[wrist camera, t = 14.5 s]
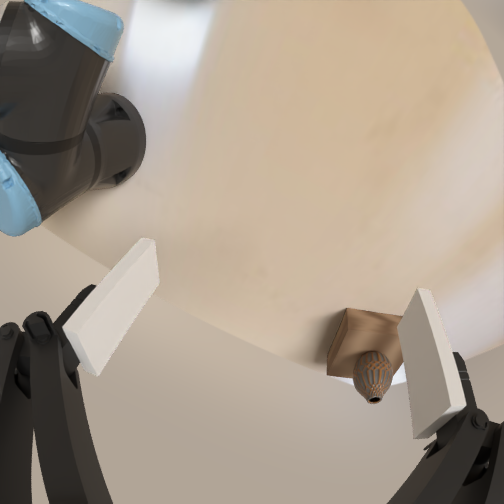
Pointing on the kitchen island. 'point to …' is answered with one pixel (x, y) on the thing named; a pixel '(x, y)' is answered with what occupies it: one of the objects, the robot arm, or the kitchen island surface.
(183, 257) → the kitchen island surface
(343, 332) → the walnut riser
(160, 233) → the kitchen island surface
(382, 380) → the vase
